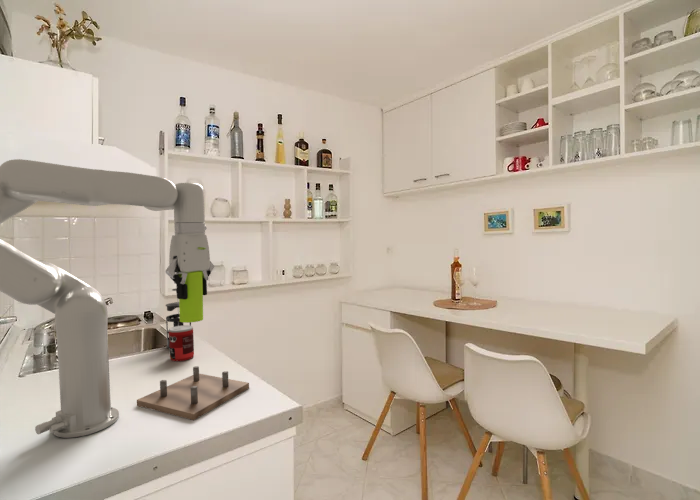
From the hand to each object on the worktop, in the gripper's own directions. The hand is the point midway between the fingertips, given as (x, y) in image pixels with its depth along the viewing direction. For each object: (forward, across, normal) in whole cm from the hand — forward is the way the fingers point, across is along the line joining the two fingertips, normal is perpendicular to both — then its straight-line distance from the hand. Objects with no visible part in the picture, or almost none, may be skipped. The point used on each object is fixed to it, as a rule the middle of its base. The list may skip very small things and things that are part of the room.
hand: (192, 296), depth 101 cm
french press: (+28, -33, -44) cm, 62 cm away
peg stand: (+28, 0, 0) cm, 28 cm away
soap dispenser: (+7, 0, 0) cm, 7 cm away
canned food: (+28, -22, -30) cm, 46 cm away
